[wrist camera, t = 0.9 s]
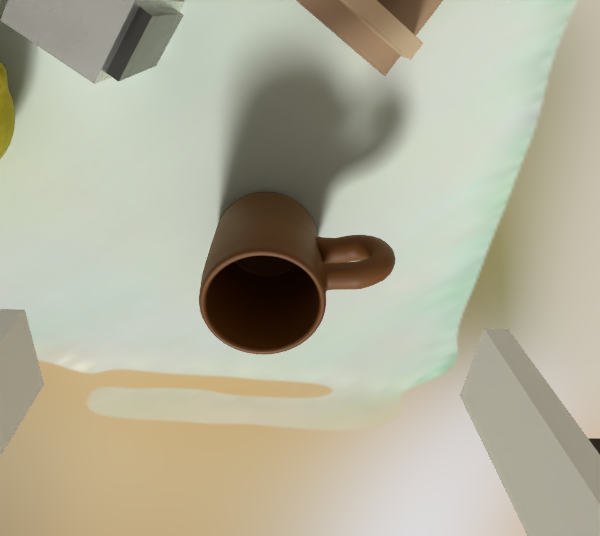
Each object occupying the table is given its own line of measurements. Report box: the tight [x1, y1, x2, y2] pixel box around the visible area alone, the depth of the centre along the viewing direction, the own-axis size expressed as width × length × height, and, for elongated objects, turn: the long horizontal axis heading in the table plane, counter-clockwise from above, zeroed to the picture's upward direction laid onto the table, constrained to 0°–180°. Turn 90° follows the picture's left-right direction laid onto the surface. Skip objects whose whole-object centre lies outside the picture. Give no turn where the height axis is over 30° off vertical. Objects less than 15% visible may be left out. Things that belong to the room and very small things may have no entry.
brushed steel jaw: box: [0, 0, 184, 83], centre depth 23 cm, size 5×4×10 cm
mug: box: [199, 192, 395, 354], centre depth 30 cm, size 12×8×9 cm, turn 104°
